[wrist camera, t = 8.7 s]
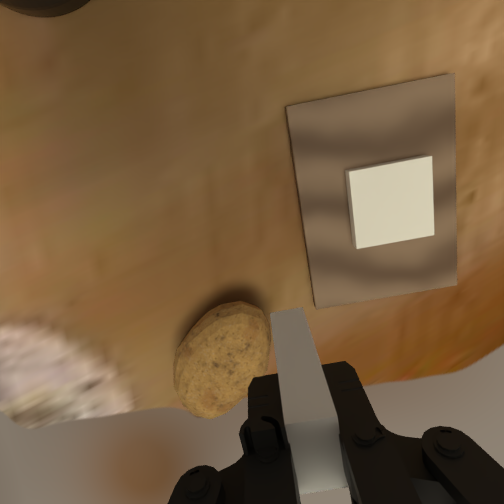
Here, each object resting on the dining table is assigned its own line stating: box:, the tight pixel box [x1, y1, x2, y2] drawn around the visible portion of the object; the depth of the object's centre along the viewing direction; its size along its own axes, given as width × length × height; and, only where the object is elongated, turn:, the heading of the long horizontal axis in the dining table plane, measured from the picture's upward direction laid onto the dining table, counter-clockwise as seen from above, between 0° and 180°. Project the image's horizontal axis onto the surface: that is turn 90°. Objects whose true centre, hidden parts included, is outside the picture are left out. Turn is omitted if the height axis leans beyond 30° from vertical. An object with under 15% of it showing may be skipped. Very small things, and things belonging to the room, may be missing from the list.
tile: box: [345, 155, 434, 249], centre depth 37 cm, size 8×2×8 cm
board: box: [285, 73, 457, 309], centre depth 38 cm, size 22×16×1 cm
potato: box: [174, 301, 271, 419], centre depth 40 cm, size 10×14×8 cm
